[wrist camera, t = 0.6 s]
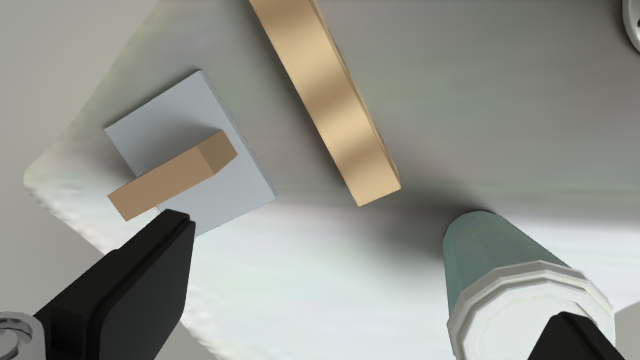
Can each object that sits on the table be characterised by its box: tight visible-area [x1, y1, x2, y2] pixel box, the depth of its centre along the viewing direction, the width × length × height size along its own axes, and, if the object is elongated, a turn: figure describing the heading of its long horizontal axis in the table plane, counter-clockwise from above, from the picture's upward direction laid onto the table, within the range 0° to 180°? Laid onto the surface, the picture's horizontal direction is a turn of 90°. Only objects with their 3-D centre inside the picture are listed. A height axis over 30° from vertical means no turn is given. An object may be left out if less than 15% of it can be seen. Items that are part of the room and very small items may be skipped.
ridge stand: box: [104, 70, 278, 238], centre depth 37 cm, size 12×14×7 cm
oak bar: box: [249, 0, 401, 207], centre depth 33 cm, size 20×4×5 cm, turn 27°
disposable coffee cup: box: [442, 211, 616, 360], centre depth 32 cm, size 11×11×15 cm
